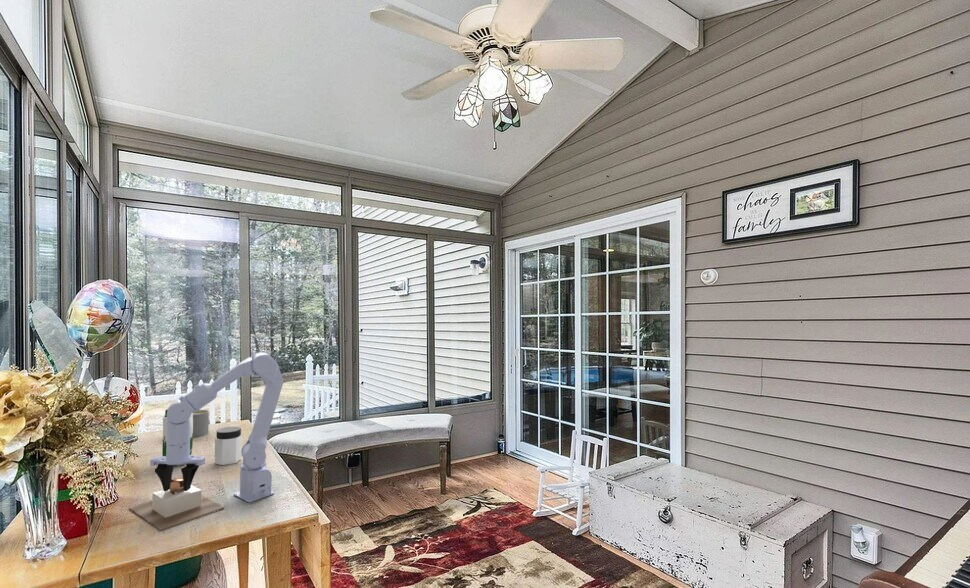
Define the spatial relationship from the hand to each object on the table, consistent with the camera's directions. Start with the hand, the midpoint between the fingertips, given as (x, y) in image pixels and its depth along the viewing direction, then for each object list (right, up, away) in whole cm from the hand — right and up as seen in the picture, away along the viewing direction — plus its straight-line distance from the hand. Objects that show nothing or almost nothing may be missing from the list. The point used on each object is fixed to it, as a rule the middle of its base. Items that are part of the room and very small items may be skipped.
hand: (177, 489), depth 130 cm
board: (0, -5, 0) cm, 5 cm away
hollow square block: (0, -5, 0) cm, 5 cm away
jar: (-7, -6, +39) cm, 40 cm away
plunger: (0, -5, 0) cm, 5 cm away
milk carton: (-25, -6, +36) cm, 44 cm away
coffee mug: (-43, -7, +72) cm, 84 cm away
